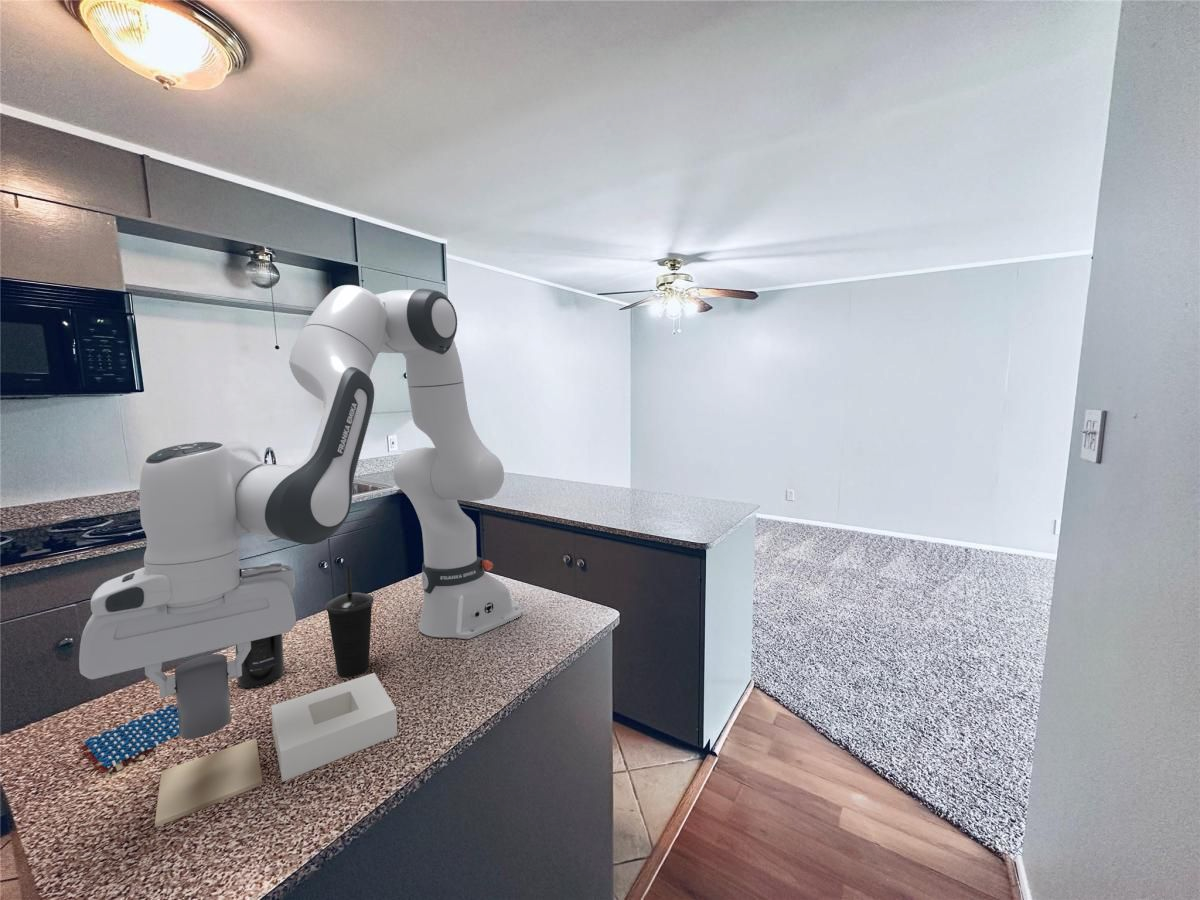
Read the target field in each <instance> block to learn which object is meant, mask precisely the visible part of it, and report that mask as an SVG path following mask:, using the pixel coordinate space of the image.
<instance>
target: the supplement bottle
mask: <svg viewBox="0 0 1200 900" xmlns="http://www.w3.org/2000/svg"><path fill="white" fill-rule="evenodd" d="M283 644H284V641H283V634H279V635H275V636H271V637H266V638H262V639H258V640H254V641H251V650H250V652H249V653H248V655H247V657H246V658H245V660H244V662H243V663H242V664H241V666H242V676H240V677H236V679H237V684H238V685H239V686H240V687H242V688H245V687H246V688H245V689H247V688H248V689H249V688H250V689H251V687H254V688H258V687H257V686H260V687H262V686H261V685H263V686H265V685H264V684H266V685H268V683H269V684H271V683H273V682H275V681H277V680H278V679H280V677H281V676H282V675H283V673H284V664H285V663H284V647H283V646H284V645H283ZM234 646H235V657H236V656H237V654H238V649H237V645H234ZM276 679H277V680H276ZM274 680H275V681H274ZM272 681H273V682H272ZM270 682H271V683H270Z"/></svg>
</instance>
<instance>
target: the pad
mask: <svg viewBox="0 0 1200 900" xmlns="http://www.w3.org/2000/svg"><path fill="white" fill-rule="evenodd" d="M160 773H161V774H160V779H159V789H158V795H157V804H156V811H155V819H154V826H155V827H154V828H157V827H160V826H162V825H164V824H165V825H166V824H169V823H170V822H172V821H174V820H177V819H180V818H182V817H185V816H189V815H190V814H192V813H195V812H198V811H200V810H203V809H205V808H208V807H210V806H212V805H215V804H217V803H220V802H223V801H225V800H227V799H231V798H233V797H235V796H238V795H240V794H242V793H246V792H248V791H250V790H253V789H255V788H258V787H260V786H263V775H262V769H261V763H260V754H259V748H258V741H257V737H256V738H255V737H254V738H252V739H249V740H246V741H243V742H241V743H238V744H234V745H232V746H229V747H227V748H224V749H220V750H217V751H214V752H211V753H208V754H206V755H203V756H201V757H198V758H195V759H191V760H190V761H186V762H184V763H183V762H182V763H181V764H177V765H175V766H172V767H169V768H165V769H163V770H161V771H160Z"/></svg>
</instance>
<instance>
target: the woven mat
mask: <svg viewBox="0 0 1200 900" xmlns="http://www.w3.org/2000/svg"><path fill="white" fill-rule="evenodd" d="M179 736H180V732H179V719H178V706H177V707H175V703H172V704H169V705H168V706H166V707H163V708H158V709H157V710H155V711H154V712H153V713H152V714H143V716H142V717H141V716H140V717H138V719H132V720H130V721H129V722H126V723H124V724H119V725H118V726H117V727H114V728H113V729H112V730H103V732H102V734H101V733H99V734H98V735H97V736H94V735H93V736H91V737H89V738H87V739H86V740H85V741H83V744H84V745H81V746H80V749H81V750H82V756H86V759H87V760H89V761H90V763H92V764H93V765H94V768H93V770H97V772H98V773H99V774H100V775H103V777H105V778H108V776H109V777H110V776H112V774H111V772H112V771H115V772H116V771H117V772H119V771H121V770H124V768H125V767H126V765H127V766H128V768H129V767H132V766H134V765H135V763H134V760H137V759H138V760H142V761H143V760H145V758H146V755H148V756H149V755H151V756H153V755H155V754H156V753H155V752H156V751H157V747H158V746H160V744H161V743H164V742H167V741H168V740H171V739H173V738H174V737H179ZM154 753H155V754H154ZM138 760H137V761H138Z"/></svg>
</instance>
